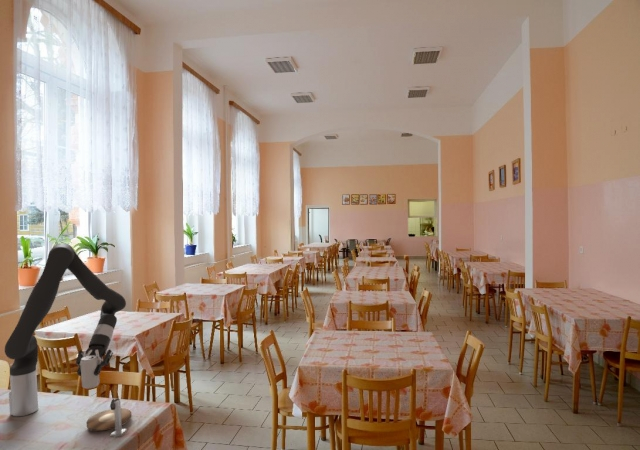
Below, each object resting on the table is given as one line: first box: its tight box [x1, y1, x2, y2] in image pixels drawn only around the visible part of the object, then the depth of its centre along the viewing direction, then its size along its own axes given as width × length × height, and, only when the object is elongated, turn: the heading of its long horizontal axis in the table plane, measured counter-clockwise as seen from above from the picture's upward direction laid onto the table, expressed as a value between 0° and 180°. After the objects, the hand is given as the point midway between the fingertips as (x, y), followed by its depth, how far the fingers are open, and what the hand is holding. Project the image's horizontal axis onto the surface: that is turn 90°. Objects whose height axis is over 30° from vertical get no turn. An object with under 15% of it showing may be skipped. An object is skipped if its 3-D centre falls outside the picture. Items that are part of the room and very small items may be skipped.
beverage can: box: [80, 355, 100, 390], centre depth 176 cm, size 6×6×12 cm
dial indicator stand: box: [109, 398, 128, 438], centre depth 162 cm, size 4×5×13 cm
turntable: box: [85, 408, 133, 432], centre depth 170 cm, size 16×16×1 cm
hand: (87, 374), depth 174 cm, fingers closed on beverage can, 6 cm apart
